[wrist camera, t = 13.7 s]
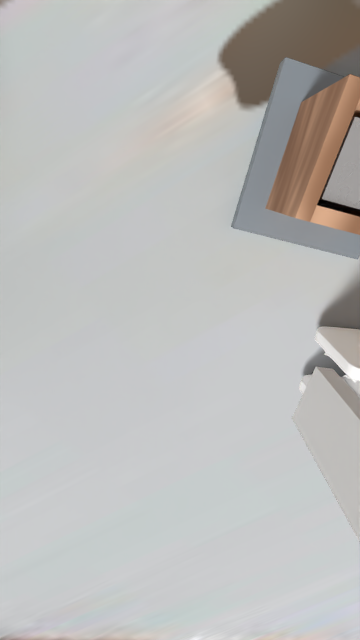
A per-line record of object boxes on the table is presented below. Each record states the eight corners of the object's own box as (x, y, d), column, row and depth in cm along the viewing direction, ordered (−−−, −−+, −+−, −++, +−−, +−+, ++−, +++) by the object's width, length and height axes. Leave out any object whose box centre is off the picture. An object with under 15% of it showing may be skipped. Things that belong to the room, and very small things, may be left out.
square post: (288, 194, 34) (321, 198, 26) (311, 130, 31) (355, 116, 24) (339, 208, 34) (384, 216, 27) (365, 147, 32) (423, 138, 25)
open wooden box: (265, 208, 34) (295, 218, 26) (301, 102, 30) (350, 74, 22) (346, 229, 35) (399, 245, 27) (391, 130, 31) (469, 114, 23)
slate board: (231, 226, 36) (233, 228, 35) (280, 62, 30) (285, 57, 28) (351, 256, 38) (357, 259, 37) (421, 109, 32) (432, 106, 31)
